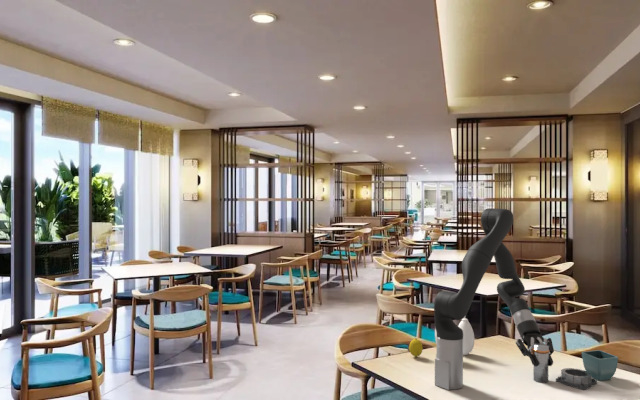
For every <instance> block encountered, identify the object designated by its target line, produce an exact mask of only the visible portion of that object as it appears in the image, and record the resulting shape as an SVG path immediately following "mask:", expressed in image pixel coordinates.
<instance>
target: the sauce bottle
mask: <svg viewBox="0 0 640 400" xmlns="http://www.w3.org/2000/svg"><path fill="white" fill-rule="evenodd" d="M457 326H458V327H460V328H461V329H462V330H463V356H468V355H469V354H470V353H472V351H473V349H474V346H475V333H474V330H473V327H472V325H471V323H470V322H469V319H468V318H466V316H465V317H464V318H463V319H461V321H460V322H459V324H458V325H457Z"/></svg>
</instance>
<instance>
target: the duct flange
mask: <svg viewBox="0 0 640 400" xmlns="http://www.w3.org/2000/svg"><path fill="white" fill-rule="evenodd" d="M555 382H556V383H558V384H562V385H565V386H569V387H571V388H572V387H573V388H575V389H579V390H582V391H586V390H588V389H589V388H591V387H594V386H595V385H598V384H597V383H598V381H597V379H595V378H593V377H592V376H591V374H590V373H589V372H587V371H586V370H585V369H581V368H580V369H579V368H571V367H567V368H566V367H565V368H562V369H561V371H560V376H557V377H556V378H555Z"/></svg>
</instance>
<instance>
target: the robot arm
mask: <svg viewBox="0 0 640 400" xmlns="http://www.w3.org/2000/svg"><path fill="white" fill-rule="evenodd" d="M480 215H481V216H480V223H481V227H482V230H483V232H484V235H485V236H484V237H482V238H481V239H479V240H477V241H476V242H475V243H473V244H472V245H471V246H470V247H469V248H468V250H467V252H466V253H465V255H464V256H463V259H462V261H461V273H462V279H463V280H462V285H461V287H460V289H459V290H458V292H451V291H446V290H441V291H439V292H438V293H437V294H436V296H435V297H434V302H433V303H434V304H433V315H434V317H433V318H434V330H435V329H436V332H437V346H436V353H437V358H436V357H435V359H434V386H437V387H439V388H442V389H445V390H448V391H450V390H459V389H462V388H463V386H464V385H463V384H464V383H463V382H464V355H463V330H462V329H461V328H460V327H458V325H457V324H456V323H455V322H454V320H456V321H460V320H461V321H462V319H463V318H464V317H465V318H466V316H467V314H468V312H469V310H470V307H471V305H472V303H473V300H474V297H475V295H476V292H477V290H478V287H479V285H480V283H481V281H482V280H483V277H484V275H485V274H486V272H487V270H488V268H489V267H490V265H491V262H492V260H493V258H494V261H495V266H496V270H497V274H498V277H499V278H500V279H505V280H506V281H502V282H499V283H498V284H497V286H496V291H497V294H498V296H499V298H500V299H502V301H503V302H504V303H505V304H506V305H507V308H508V309H509V311H510V314H511V316H512V318H513V322H514V324H515V328H516V329H517V331H518V334H519V337H520V338H521V339H520V338H518V339H517V340H516V342H515V344H516V346H517V348H518V349H519V351H520V352H521V354H522V355H523V356H524V357H528V358H529V359H530V362H531V364H532V366H533V367H534V366H535V367H537V366H538V365H539V363H538V361H537V358H536V356H535V355H534V351H533V348H534V344H535V343H542V344H546V345H548V346H549V356H548V367H552V366H553V364H554V361H553V358H552V354H554V352H555V349H554V344H553V341H552V338H550V337H548V338H544V336H543V335H542V334H541V330H540V327H539V326H538V322H537V321H536V319H535V317H534V315H533V313H532V311H531V310H530V307H529V305H528V303H527V301H526V300H525V299H524V298H519V297H522V296H523V295H524V294H525V291H526V289H525V286H524V284H523V282H522V280H521V278H520V277H519V274H518V273H517V269H516V264H515V259H514V257H513V255H512V253H511V251H510V250H509V248H508V247H507V246H506V245H505V244H504V243H503V241H504V240H505V238H506V236H507V235H508V233H510V231H511V228H512V226H513V224H514V215H513V212H512V211H511V210H510V209H506V208H490V207H489V208H486V209H484V210H482V212H481V214H480Z"/></svg>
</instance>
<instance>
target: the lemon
mask: <svg viewBox="0 0 640 400" xmlns="http://www.w3.org/2000/svg"><path fill="white" fill-rule="evenodd" d="M423 348H424V347H423V344H422V342H421V340H420V339H418V338H414V339H412V340H411V341H410V343H409V347H408V349H409V353H410V354H411V355H412V356H413V357H414V358H418V357H419V356H420V355H422V353H423Z"/></svg>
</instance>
